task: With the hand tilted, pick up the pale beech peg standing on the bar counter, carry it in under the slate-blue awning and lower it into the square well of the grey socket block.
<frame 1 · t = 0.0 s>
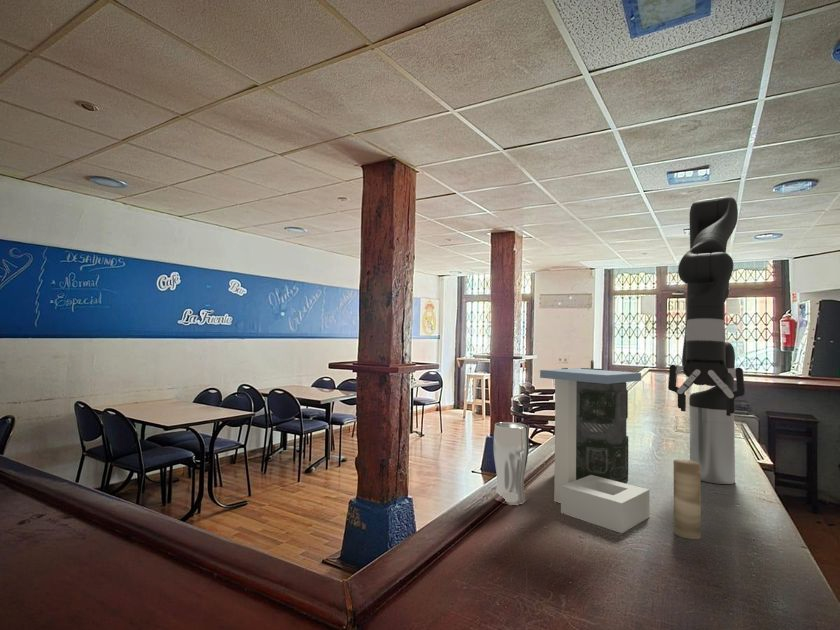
hand: (705, 413, 100), 17 cm above the table, tool pointing down, fingers open, 8 cm apart
beer glass: (509, 501, 91), on the table
canister: (591, 480, 107), on the table
kiosk: (604, 514, 85), on the table
peg: (687, 534, 77), on the table
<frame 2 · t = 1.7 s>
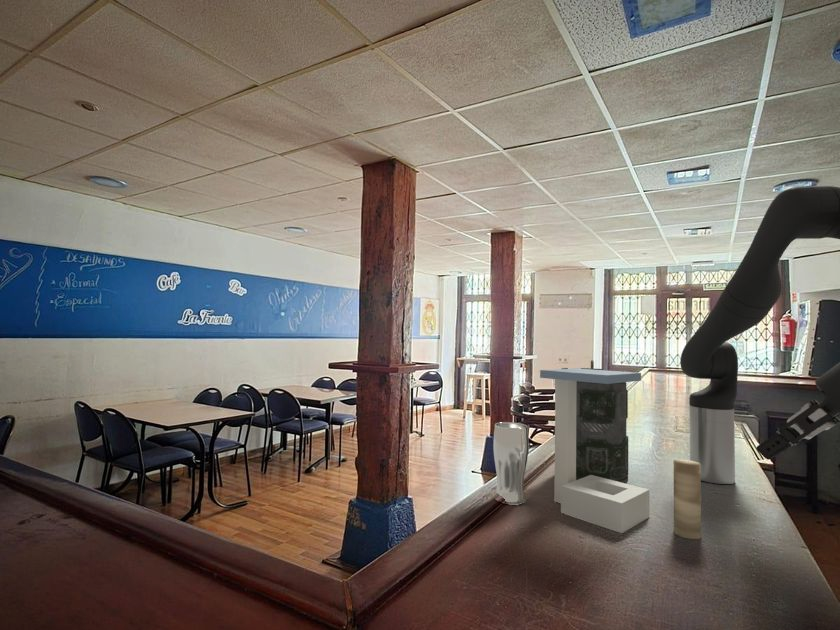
hand: (769, 450, 69), 16 cm above the table, tool tilted 45°, fingers open, 8 cm apart
nothing on the table moved.
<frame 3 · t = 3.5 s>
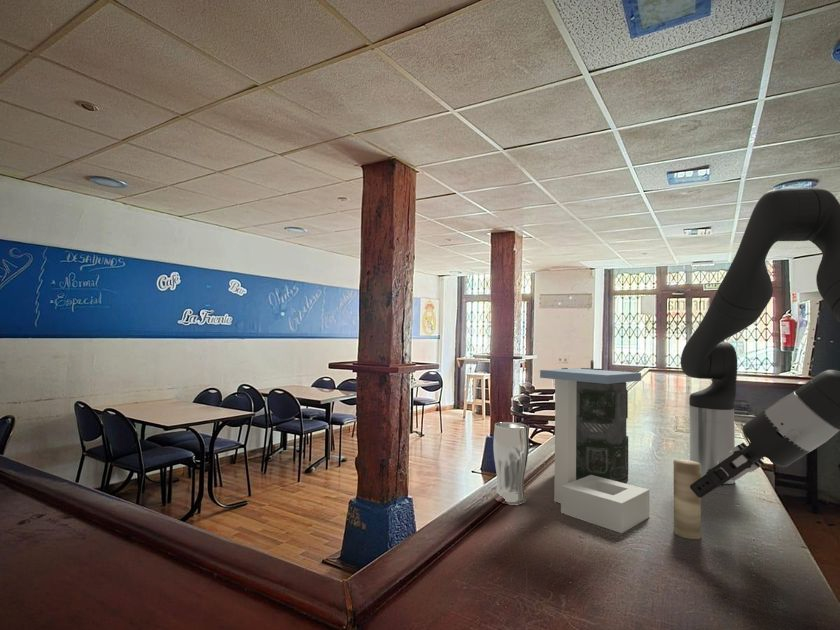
hand: (703, 486, 76), 8 cm above the table, tool tilted 45°, fingers open, 8 cm apart
nothing on the table moved.
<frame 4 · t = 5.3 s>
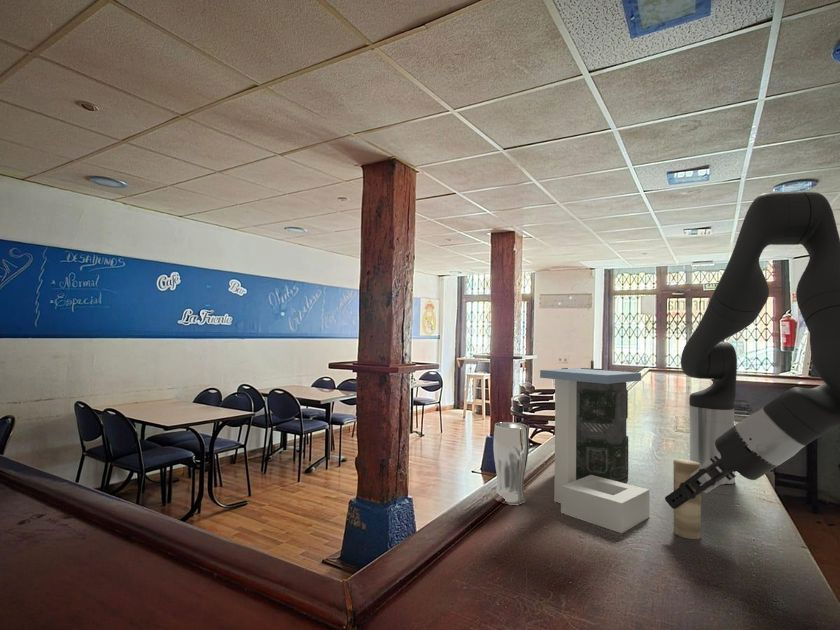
hand: (674, 500, 79), 5 cm above the table, tool tilted 45°, fingers closed on peg, 4 cm apart
peg: (687, 534, 77), on the table, touching gripper
everything else where it was.
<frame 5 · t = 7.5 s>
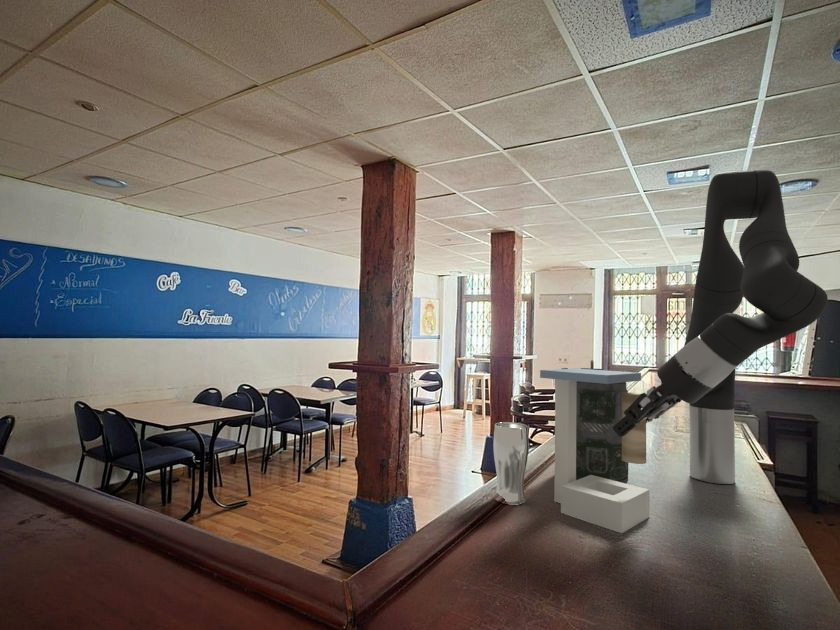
hand: (622, 430, 83), 16 cm above the table, tool tilted 45°, fingers closed on peg, 4 cm apart
peg: (633, 461, 81), point 11 cm above the table, touching gripper
everything else where it was.
when the fingers open (7 cm above the table, at t = 9.8 s): peg drops 2 cm, resting in kiosk.
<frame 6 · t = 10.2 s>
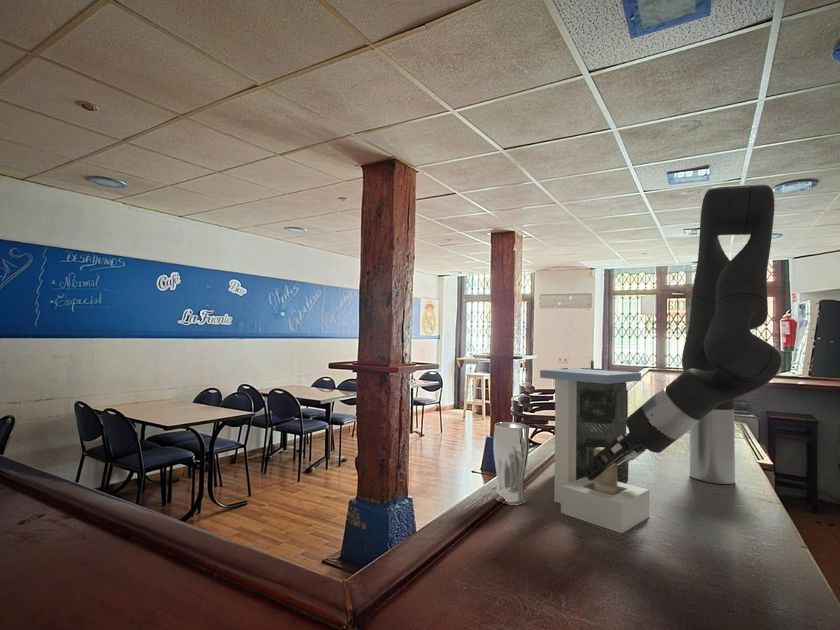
hand: (597, 472, 86), 8 cm above the table, tool tilted 45°, fingers open, 7 cm apart
peg: (605, 515, 85), resting in kiosk
everything else where it was.
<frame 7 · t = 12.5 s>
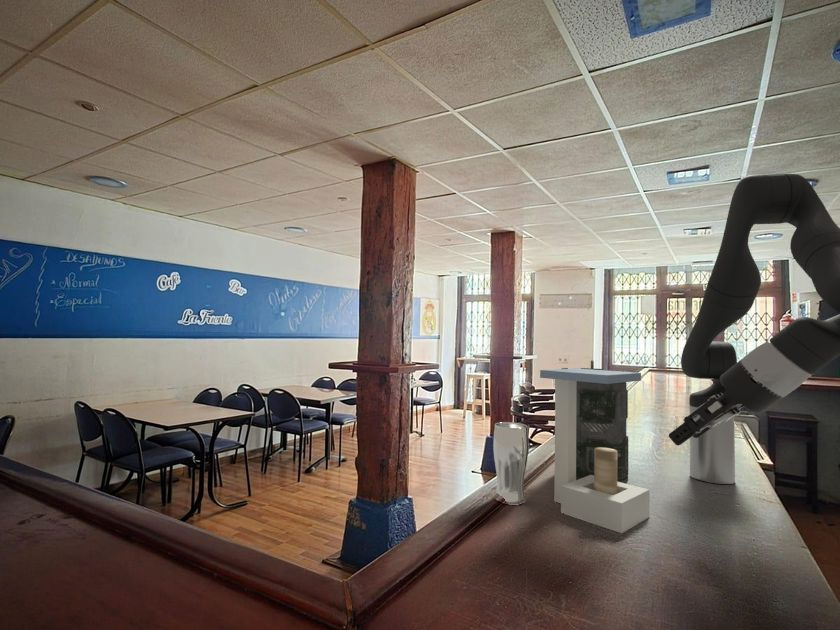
hand: (682, 437, 78), 16 cm above the table, tool tilted 45°, fingers open, 8 cm apart
nothing on the table moved.
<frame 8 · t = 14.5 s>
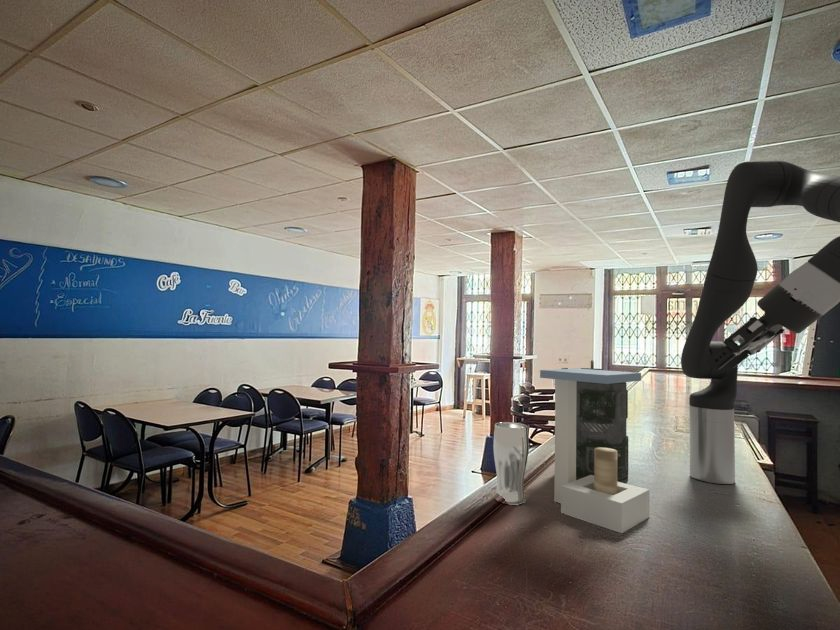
hand: (719, 365, 80), 29 cm above the table, tool tilted 45°, fingers open, 8 cm apart
nothing on the table moved.
at the end: peg 0.1 cm off-centre on the kiosk, point 0.0 cm above the kiosk's base; peg tilted 0°; the gripper is holding nothing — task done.
